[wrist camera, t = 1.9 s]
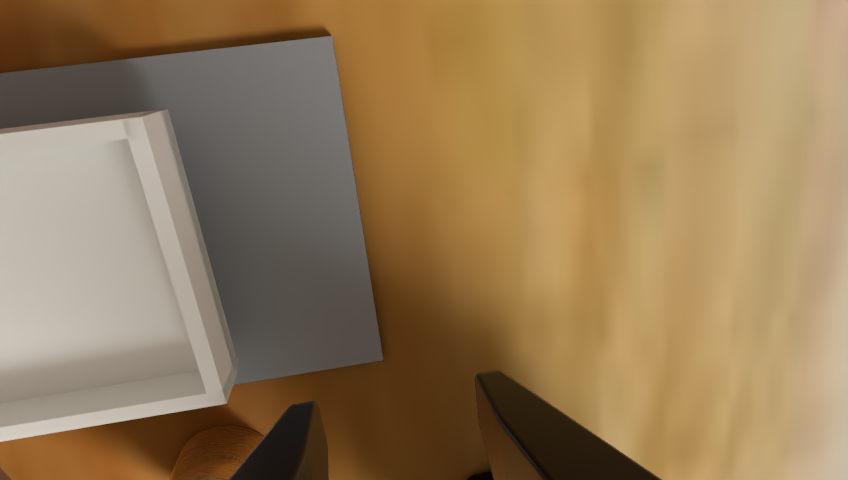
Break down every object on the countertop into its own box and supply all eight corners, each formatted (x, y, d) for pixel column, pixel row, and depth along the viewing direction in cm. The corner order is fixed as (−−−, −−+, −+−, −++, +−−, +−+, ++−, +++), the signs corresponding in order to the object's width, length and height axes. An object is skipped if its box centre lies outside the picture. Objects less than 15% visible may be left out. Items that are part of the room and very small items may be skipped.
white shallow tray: (180, 104, 16) (142, 116, 13) (245, 349, 20) (226, 403, 17) (-237, 154, 15) (-379, 180, 12) (-97, 404, 19) (-182, 472, 16)
